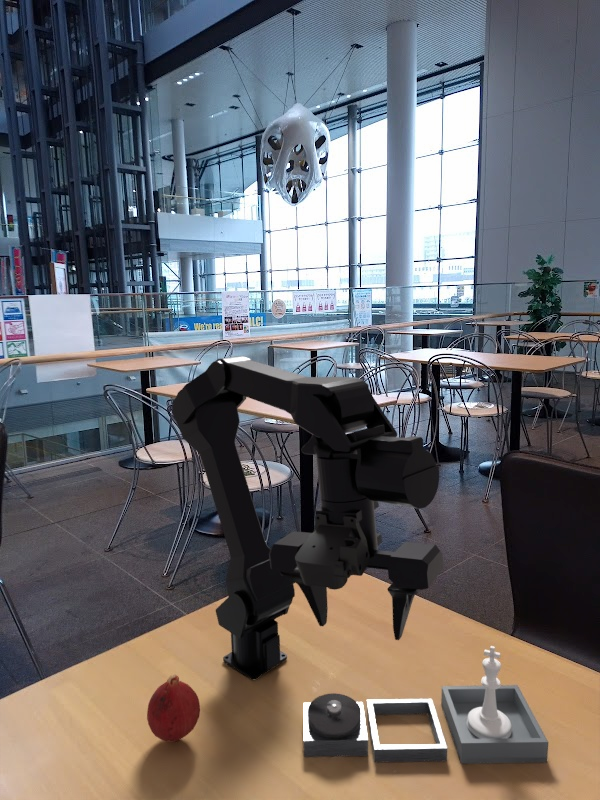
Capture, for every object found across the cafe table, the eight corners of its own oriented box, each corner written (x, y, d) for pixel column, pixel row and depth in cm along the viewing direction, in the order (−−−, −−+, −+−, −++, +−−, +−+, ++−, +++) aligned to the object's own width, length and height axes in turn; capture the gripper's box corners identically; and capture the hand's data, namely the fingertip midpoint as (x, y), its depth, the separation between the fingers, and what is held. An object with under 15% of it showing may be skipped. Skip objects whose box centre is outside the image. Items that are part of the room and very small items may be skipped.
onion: (176, 767, 64) (171, 701, 63) (138, 746, 67) (133, 682, 66) (211, 733, 69) (208, 671, 67) (174, 715, 72) (171, 655, 70)
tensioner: (303, 763, 64) (303, 730, 64) (303, 712, 72) (303, 682, 71) (447, 761, 64) (447, 728, 63) (431, 710, 72) (432, 680, 71)
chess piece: (508, 748, 65) (513, 665, 63) (462, 734, 67) (465, 653, 65) (514, 718, 69) (518, 640, 67) (470, 706, 71) (473, 630, 70)
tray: (460, 763, 64) (461, 743, 63) (441, 704, 73) (441, 686, 72) (547, 762, 64) (548, 741, 63) (516, 703, 73) (517, 685, 72)
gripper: (233, 512, 63) (249, 652, 64) (401, 525, 53) (415, 689, 55) (288, 484, 72) (301, 607, 74) (439, 491, 63) (450, 632, 64)
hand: (359, 631), depth 66 cm, fingers open, 9 cm apart
